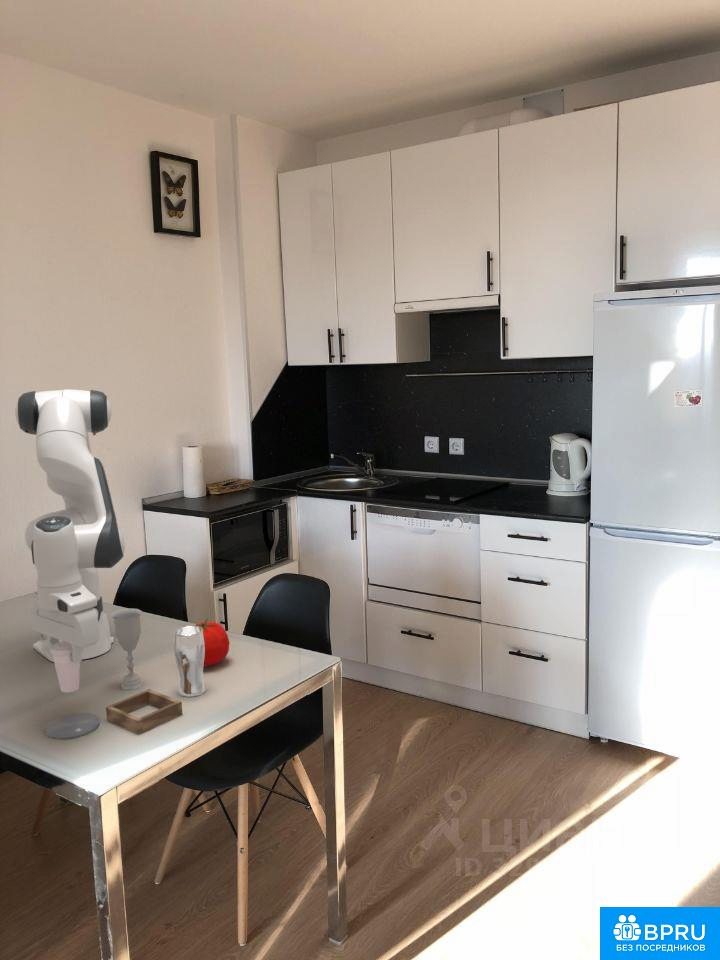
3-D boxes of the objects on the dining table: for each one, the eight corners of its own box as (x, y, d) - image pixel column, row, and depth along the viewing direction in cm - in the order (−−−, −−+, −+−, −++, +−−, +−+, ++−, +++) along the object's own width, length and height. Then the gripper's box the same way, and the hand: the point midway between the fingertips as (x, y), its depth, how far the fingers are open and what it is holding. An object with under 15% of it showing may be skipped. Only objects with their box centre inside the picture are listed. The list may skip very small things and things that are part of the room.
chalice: (152, 684, 198) (147, 612, 195) (127, 693, 193) (121, 620, 190) (136, 676, 203) (131, 606, 200) (111, 685, 198) (105, 613, 195)
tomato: (222, 652, 217) (219, 612, 215) (236, 667, 207) (234, 624, 205) (177, 661, 212) (174, 620, 210) (190, 677, 201) (187, 633, 200)
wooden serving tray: (106, 720, 180) (105, 707, 179) (150, 701, 188) (149, 689, 188) (139, 734, 172) (137, 721, 172) (182, 714, 181) (181, 701, 181)
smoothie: (61, 682, 179) (55, 620, 176) (90, 682, 178) (85, 620, 176) (48, 695, 172) (42, 631, 170) (78, 695, 172) (73, 630, 170)
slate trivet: (35, 729, 176) (35, 727, 176) (81, 711, 184) (80, 708, 184) (63, 744, 169) (63, 741, 169) (109, 724, 178) (109, 721, 177)
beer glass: (175, 688, 195) (171, 628, 193) (204, 683, 197) (200, 623, 195) (179, 700, 189) (175, 637, 186) (210, 694, 191) (206, 633, 189)
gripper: (20, 591, 176) (27, 652, 178) (74, 607, 163) (80, 673, 165) (47, 583, 181) (53, 643, 183) (101, 599, 168) (107, 663, 170)
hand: (67, 658), depth 174 cm, fingers closed on smoothie, 6 cm apart
